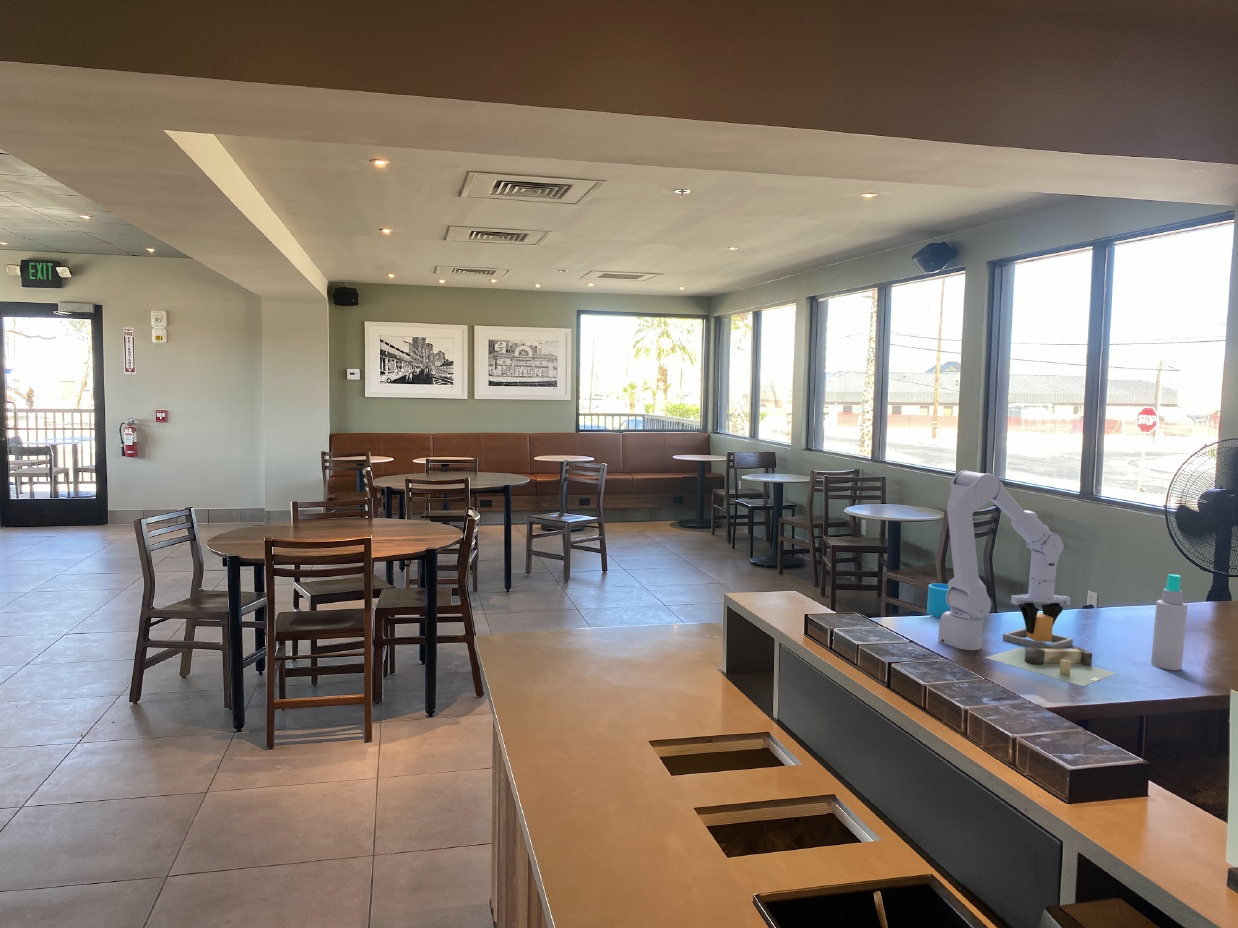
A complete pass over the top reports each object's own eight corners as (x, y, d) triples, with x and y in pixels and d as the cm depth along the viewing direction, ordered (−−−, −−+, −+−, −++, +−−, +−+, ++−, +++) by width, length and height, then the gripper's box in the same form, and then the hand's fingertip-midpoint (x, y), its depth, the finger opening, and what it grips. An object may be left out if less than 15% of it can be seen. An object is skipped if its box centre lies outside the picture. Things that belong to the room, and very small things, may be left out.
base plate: (984, 663, 192) (985, 644, 191) (1020, 653, 201) (1021, 635, 201) (1082, 692, 174) (1083, 672, 174) (1116, 679, 183) (1118, 660, 183)
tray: (1002, 645, 207) (1003, 633, 207) (1026, 638, 214) (1027, 627, 214) (1048, 658, 198) (1049, 646, 198) (1072, 650, 205) (1072, 639, 204)
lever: (1032, 665, 187) (1033, 653, 186) (1019, 658, 192) (1020, 646, 191) (1091, 665, 188) (1092, 653, 188) (1077, 658, 193) (1078, 646, 193)
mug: (923, 614, 236) (924, 586, 235) (931, 609, 242) (933, 582, 242) (966, 622, 228) (968, 593, 228) (974, 616, 235) (976, 588, 234)
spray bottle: (1152, 668, 193) (1160, 575, 191) (1149, 661, 198) (1157, 571, 196) (1183, 672, 190) (1191, 579, 188) (1179, 665, 195) (1187, 574, 194)
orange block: (1036, 641, 203) (1038, 617, 203) (1026, 636, 207) (1028, 613, 206) (1051, 641, 203) (1053, 617, 203) (1041, 636, 207) (1043, 613, 207)
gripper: (1024, 582, 200) (1020, 637, 201) (1080, 583, 201) (1075, 637, 202) (1007, 576, 207) (1003, 628, 208) (1061, 576, 208) (1057, 629, 209)
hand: (1038, 632), depth 206 cm, fingers closed on orange block, 4 cm apart
